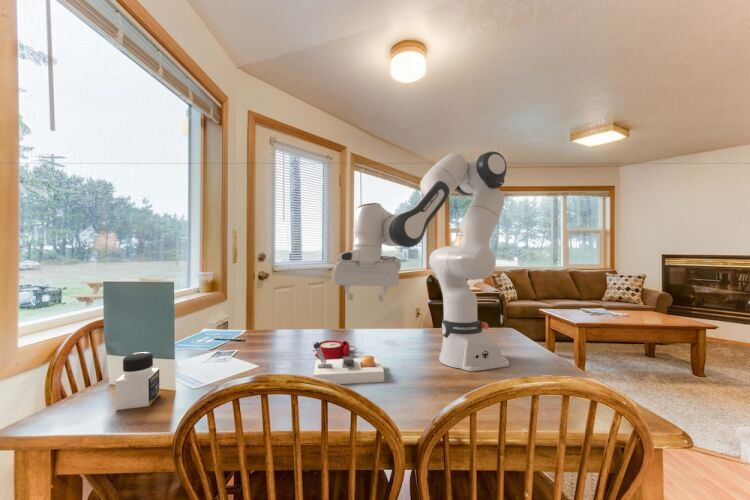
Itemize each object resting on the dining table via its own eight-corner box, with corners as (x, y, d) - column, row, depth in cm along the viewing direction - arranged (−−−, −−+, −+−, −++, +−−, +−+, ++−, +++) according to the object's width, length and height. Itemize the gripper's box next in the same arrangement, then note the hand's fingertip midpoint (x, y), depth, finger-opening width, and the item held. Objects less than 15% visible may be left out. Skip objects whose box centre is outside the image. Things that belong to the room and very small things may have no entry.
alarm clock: (313, 341, 121) (352, 331, 123) (317, 357, 121) (356, 347, 123) (311, 350, 110) (354, 339, 112) (315, 368, 111) (358, 356, 112)
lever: (327, 360, 97) (318, 340, 97) (327, 362, 95) (318, 342, 95) (321, 363, 97) (312, 343, 97) (320, 365, 95) (312, 345, 95)
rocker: (352, 359, 101) (352, 356, 101) (353, 363, 94) (353, 360, 94) (343, 360, 100) (343, 356, 101) (343, 364, 94) (343, 360, 94)
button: (373, 366, 100) (373, 355, 100) (374, 371, 96) (374, 359, 96) (361, 367, 100) (361, 355, 100) (362, 371, 96) (362, 359, 96)
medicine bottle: (149, 406, 79) (149, 357, 79) (114, 411, 77) (114, 360, 77) (159, 394, 85) (159, 348, 85) (128, 397, 83) (127, 351, 83)
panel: (378, 366, 104) (378, 356, 104) (384, 381, 92) (384, 369, 92) (316, 369, 102) (315, 358, 102) (313, 385, 90) (313, 373, 90)
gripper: (400, 256, 102) (399, 300, 102) (336, 254, 103) (334, 298, 102) (401, 256, 96) (400, 303, 95) (333, 254, 96) (331, 300, 96)
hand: (365, 300), depth 99 cm, fingers open, 8 cm apart
